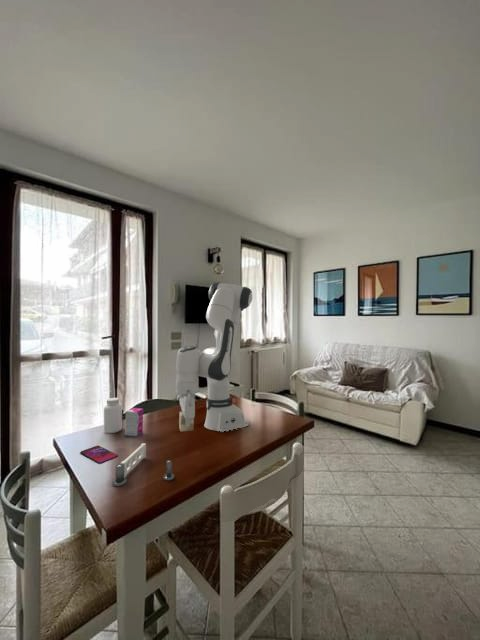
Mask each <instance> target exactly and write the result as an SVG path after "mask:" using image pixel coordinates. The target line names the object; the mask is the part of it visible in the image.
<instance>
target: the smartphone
mask: <svg viewBox="0 0 480 640" xmlns="http://www.w3.org/2000/svg"><path fill="white" fill-rule="evenodd" d="M79 454H80V455H82V456H84V457H85V458H87V459H89V460H91V461H93V462H95V463H97V464H99V465H100V464H103V463H106V462H108V461H110V460H114V459H115V458H117V457H118V456H119V455H118V454H117V453H115V452H113V451H110V450H109V449H107V448H104V447H102V446H100V445H95V446H92V447H89V448H87V449H84V450H80V452H79Z"/></svg>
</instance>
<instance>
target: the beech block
mask: <svg viewBox="0 0 480 640" xmlns="http://www.w3.org/2000/svg"><path fill="white" fill-rule="evenodd" d="M178 418H179V419H178V420H179V421H178V424H179V425H178V427H179V431H180V432H190V431H191V432H192V431H194V426H195V425H194V424H195V421H194V419H195V418H194V419H191V420H190V426H189V427H186V426H185V418H184V415H183V412H182V411H179V417H178Z"/></svg>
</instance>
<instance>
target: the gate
mask: <svg viewBox="0 0 480 640" xmlns="http://www.w3.org/2000/svg"><path fill="white" fill-rule="evenodd" d="M146 445H147V443H145V442H143V443H141V444H140V445H139V447H137V448H136V449H135V450H134V451H133V452H132V453H131V454H129V456H128V457H127V458H125V459H124V460H122V461H121V462H120V464H124V478H126V477H127V476H128V474H129V473H130V472H131V471H132V470H133V469H134V468H135V467H136V466H137V465H138V464H139V463H140V462H141V461H142V460H143V459H145V458H146V457H147V446H146Z"/></svg>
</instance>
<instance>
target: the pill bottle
mask: <svg viewBox="0 0 480 640" xmlns="http://www.w3.org/2000/svg"><path fill="white" fill-rule="evenodd" d="M122 406H123V405H122V404H121V403H120V398H119V397H111V398H107V400H106V405H105V406H104V407H103V431H104V433H106V434H115V433H118V432H120V431H121V430H122V429H123V407H122Z"/></svg>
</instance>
